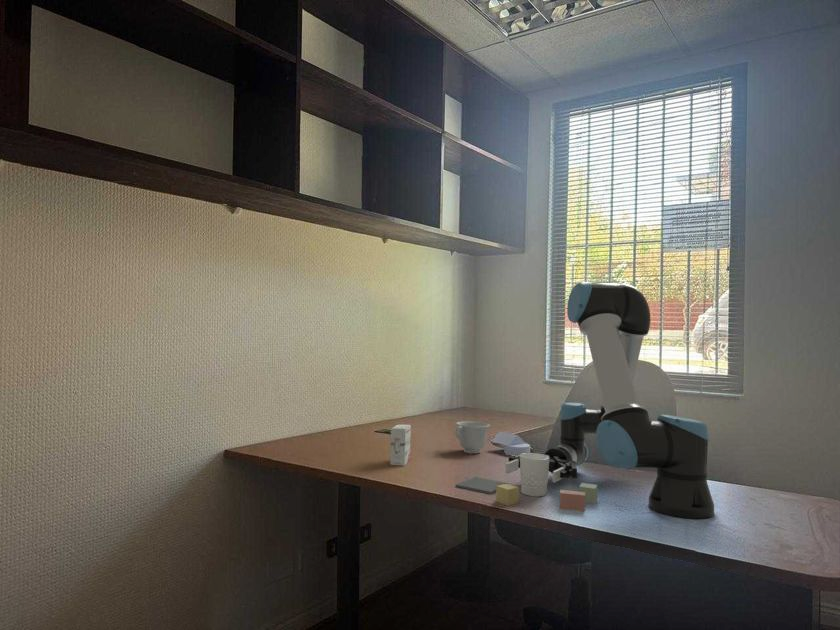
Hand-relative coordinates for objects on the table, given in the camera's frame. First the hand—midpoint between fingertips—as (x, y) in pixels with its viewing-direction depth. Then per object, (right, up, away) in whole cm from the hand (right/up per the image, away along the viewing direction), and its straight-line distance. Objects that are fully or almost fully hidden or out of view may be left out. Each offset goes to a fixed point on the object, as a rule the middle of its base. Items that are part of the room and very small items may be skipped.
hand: (529, 472), depth 158 cm
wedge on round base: (+4, -7, +53) cm, 53 cm away
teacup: (-12, -7, +51) cm, 53 cm away
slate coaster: (-12, -6, +7) cm, 15 cm away
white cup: (+1, -6, +2) cm, 7 cm away
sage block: (+15, -7, -4) cm, 16 cm away
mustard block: (-7, -6, -7) cm, 11 cm away
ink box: (-36, -6, +33) cm, 49 cm away
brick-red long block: (+9, -6, -10) cm, 15 cm away
